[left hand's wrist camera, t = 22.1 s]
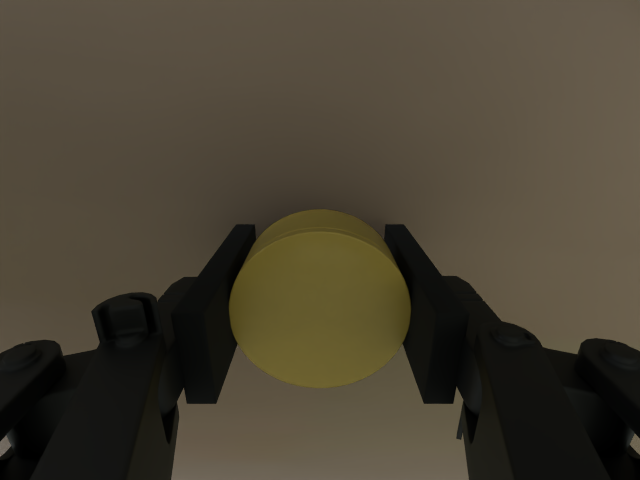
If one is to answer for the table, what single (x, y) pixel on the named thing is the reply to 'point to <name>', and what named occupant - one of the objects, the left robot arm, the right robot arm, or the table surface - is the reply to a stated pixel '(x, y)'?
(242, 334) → the lid
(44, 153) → the table surface
